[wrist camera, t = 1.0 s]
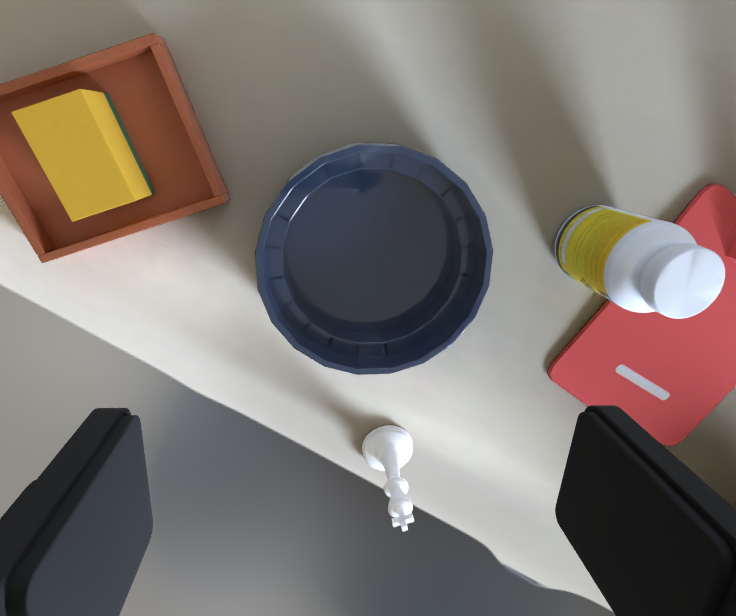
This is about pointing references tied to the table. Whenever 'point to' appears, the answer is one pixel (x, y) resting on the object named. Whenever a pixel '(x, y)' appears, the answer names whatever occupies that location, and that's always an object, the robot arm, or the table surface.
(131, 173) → the sponge
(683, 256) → the pill bottle
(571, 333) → the table surface
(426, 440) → the table surface
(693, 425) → the desk lamp
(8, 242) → the table surface
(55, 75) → the sponge dish
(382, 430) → the chess piece
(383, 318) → the bowl
